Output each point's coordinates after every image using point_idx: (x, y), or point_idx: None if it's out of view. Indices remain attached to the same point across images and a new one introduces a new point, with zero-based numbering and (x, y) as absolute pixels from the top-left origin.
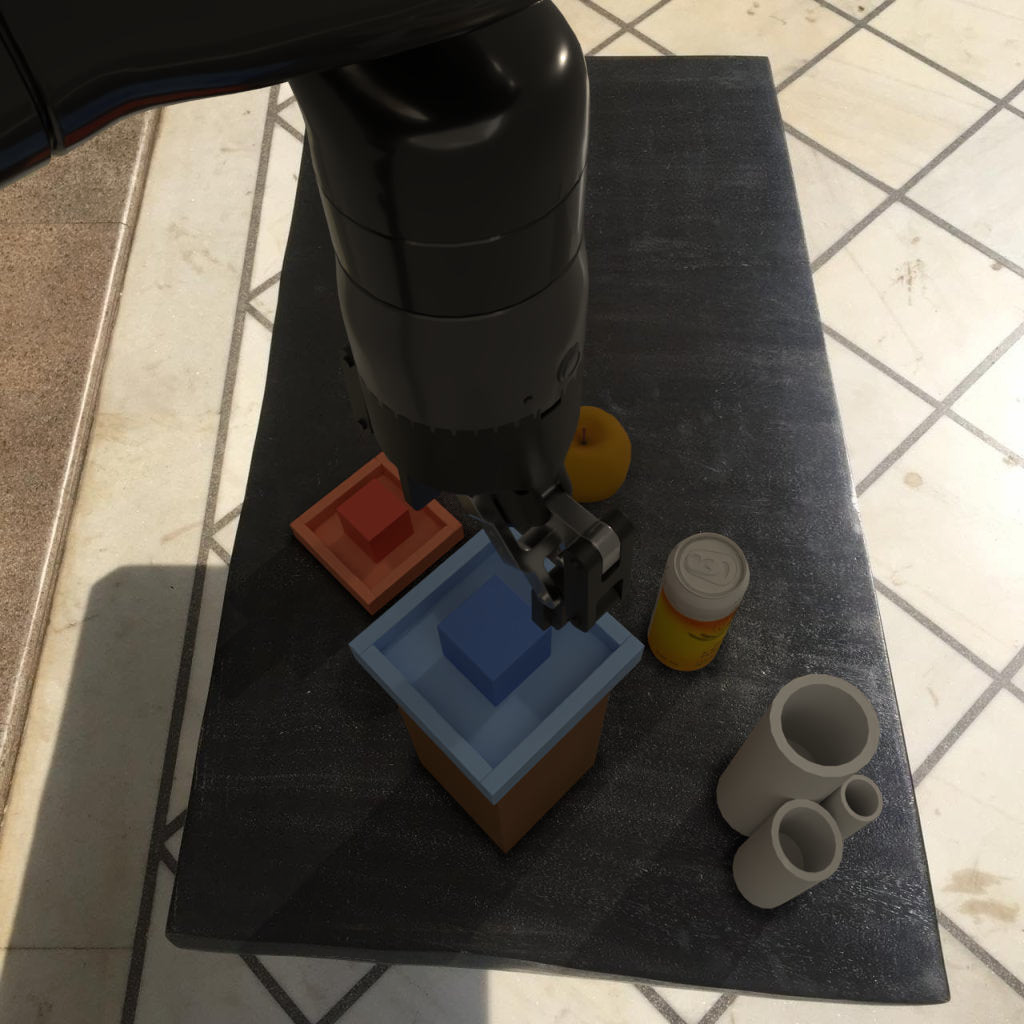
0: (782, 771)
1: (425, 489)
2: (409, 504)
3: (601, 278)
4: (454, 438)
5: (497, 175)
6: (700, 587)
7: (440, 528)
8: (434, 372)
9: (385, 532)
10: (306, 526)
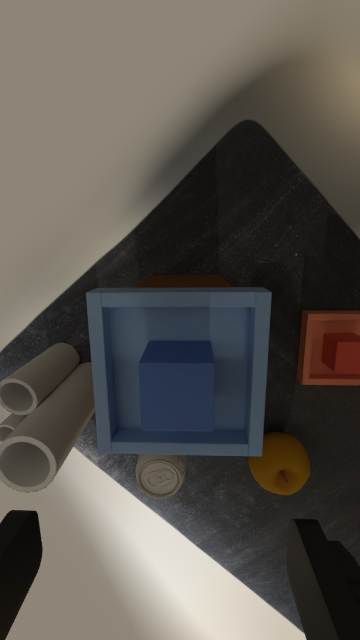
0: (32, 422)
1: (304, 577)
2: (308, 524)
3: (352, 540)
4: None
5: None
6: (153, 465)
7: (311, 373)
8: None
9: (334, 352)
10: None
